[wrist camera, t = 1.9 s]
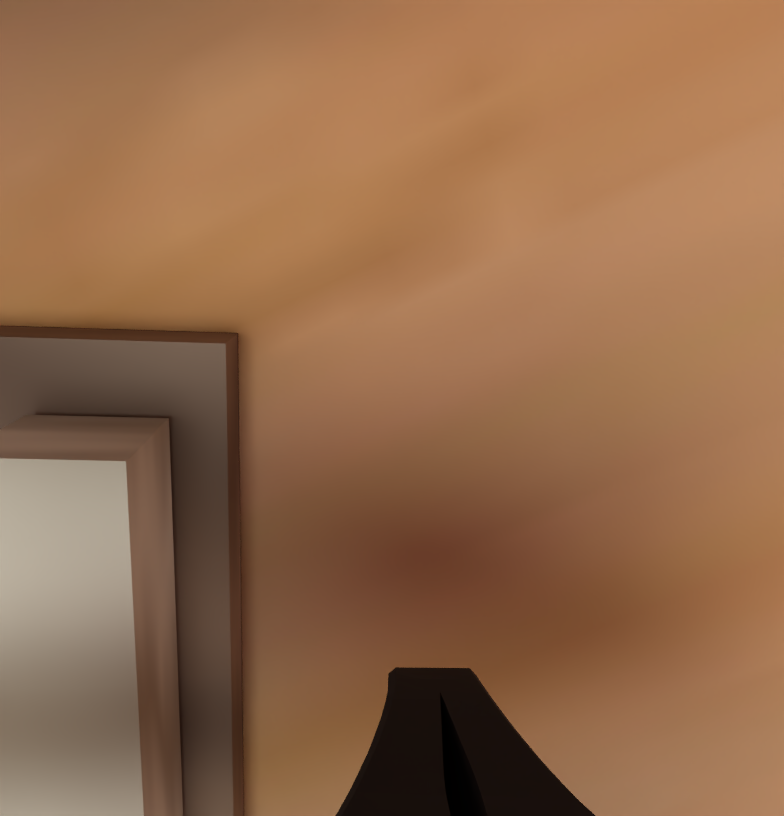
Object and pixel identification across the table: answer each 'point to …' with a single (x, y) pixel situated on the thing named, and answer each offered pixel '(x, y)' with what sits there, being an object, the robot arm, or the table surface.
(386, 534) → the table surface
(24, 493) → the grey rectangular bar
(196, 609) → the stool seat panel
